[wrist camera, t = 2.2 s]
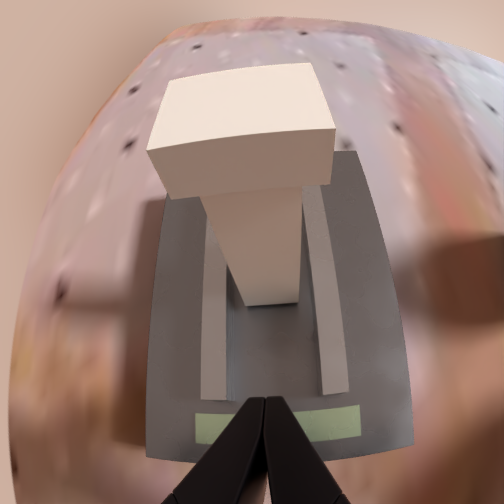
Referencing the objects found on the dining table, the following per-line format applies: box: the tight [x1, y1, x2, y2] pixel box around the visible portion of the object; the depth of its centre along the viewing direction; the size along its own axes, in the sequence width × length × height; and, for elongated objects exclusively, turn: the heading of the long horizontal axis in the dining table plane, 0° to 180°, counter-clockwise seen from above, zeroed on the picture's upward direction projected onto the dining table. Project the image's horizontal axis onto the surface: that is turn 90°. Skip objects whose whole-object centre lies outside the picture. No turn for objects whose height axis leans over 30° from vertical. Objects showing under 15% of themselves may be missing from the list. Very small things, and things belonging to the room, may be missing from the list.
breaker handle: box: [146, 63, 336, 306], centre depth 10 cm, size 3×4×10 cm
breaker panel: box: [146, 151, 414, 463], centre depth 15 cm, size 17×12×5 cm
